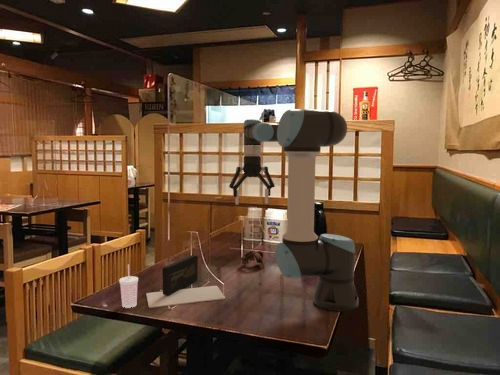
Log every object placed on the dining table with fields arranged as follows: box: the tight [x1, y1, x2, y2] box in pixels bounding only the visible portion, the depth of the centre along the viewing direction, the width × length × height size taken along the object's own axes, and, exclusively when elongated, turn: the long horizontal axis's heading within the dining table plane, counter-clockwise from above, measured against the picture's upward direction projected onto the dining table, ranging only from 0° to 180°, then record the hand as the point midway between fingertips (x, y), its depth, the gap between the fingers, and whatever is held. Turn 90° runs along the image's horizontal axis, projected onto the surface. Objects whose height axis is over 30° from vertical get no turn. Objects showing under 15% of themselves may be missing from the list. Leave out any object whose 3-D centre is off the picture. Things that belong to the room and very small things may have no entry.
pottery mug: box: [240, 249, 265, 270], centre depth 177 cm, size 12×10×8 cm
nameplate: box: [161, 254, 199, 295], centre depth 148 cm, size 21×2×10 cm, turn 157°
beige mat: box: [145, 285, 226, 309], centre depth 140 cm, size 13×26×1 cm, turn 108°
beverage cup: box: [118, 264, 139, 309], centre depth 132 cm, size 6×6×14 cm
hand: (251, 203), depth 174 cm, fingers open, 13 cm apart
